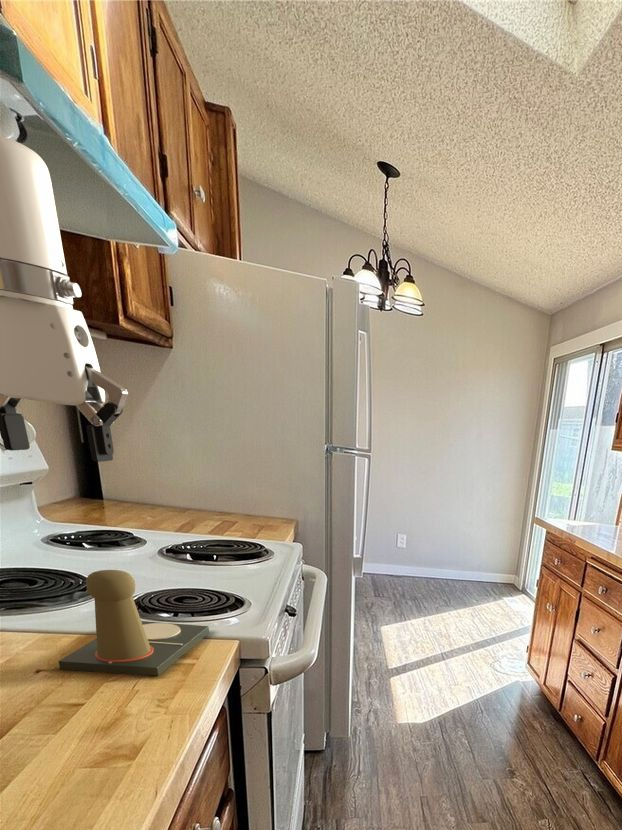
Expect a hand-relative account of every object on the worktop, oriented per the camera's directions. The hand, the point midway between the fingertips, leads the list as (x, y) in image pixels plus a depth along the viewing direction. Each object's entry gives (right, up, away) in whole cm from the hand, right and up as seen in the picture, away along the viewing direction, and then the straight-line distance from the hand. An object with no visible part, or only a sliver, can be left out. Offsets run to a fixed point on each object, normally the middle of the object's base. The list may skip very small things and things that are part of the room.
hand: (60, 455), depth 68 cm
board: (+2, -23, +12) cm, 26 cm away
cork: (+2, -24, +8) cm, 25 cm away
